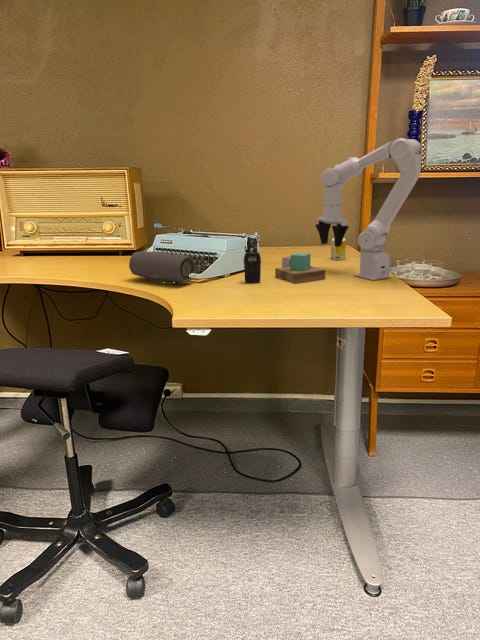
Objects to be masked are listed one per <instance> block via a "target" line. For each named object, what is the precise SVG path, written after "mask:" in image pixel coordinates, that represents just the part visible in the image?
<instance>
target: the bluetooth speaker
mask: <svg viewBox="0 0 480 640" xmlns="http://www.w3.org/2000/svg"><path fill="white" fill-rule="evenodd" d="M128 267H129V270H130V272H131V273H132V274H133V275H134V276H138V277H142V278H146V279H149V281H150V282H152V281H154V282H153V283H157V282H165V283H173V282H176V283H188V282H190V281H192V280H193V279H194V278H191V277H189V274H191V273H195V272H196V273H197V265H196V263H195V260H194V259H193V257H191V256H189V255H184V254H178V253H171V252H163V251H142V250H141V251H135V252H133V253H132V255H131V257H130V258H129V263H128ZM196 273H195V274H196Z"/></svg>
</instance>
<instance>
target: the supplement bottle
mask: <svg viewBox="0 0 480 640" xmlns="http://www.w3.org/2000/svg"><path fill="white" fill-rule="evenodd" d="M346 243H347V239H346V238H345V236H344V237H343V240H342V244H341V246H338V247H335V243H334V237H333V238H332V239H331V246H330V247H331V251H330V258H331V259H332V260H335V261H343V260H345V259H346V248H347V246H346Z"/></svg>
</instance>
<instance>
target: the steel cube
mask: <svg viewBox="0 0 480 640" xmlns="http://www.w3.org/2000/svg"><path fill="white" fill-rule="evenodd" d="M281 266H282V267H281V268H283V267H290V266H291V256H285V257H281Z"/></svg>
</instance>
